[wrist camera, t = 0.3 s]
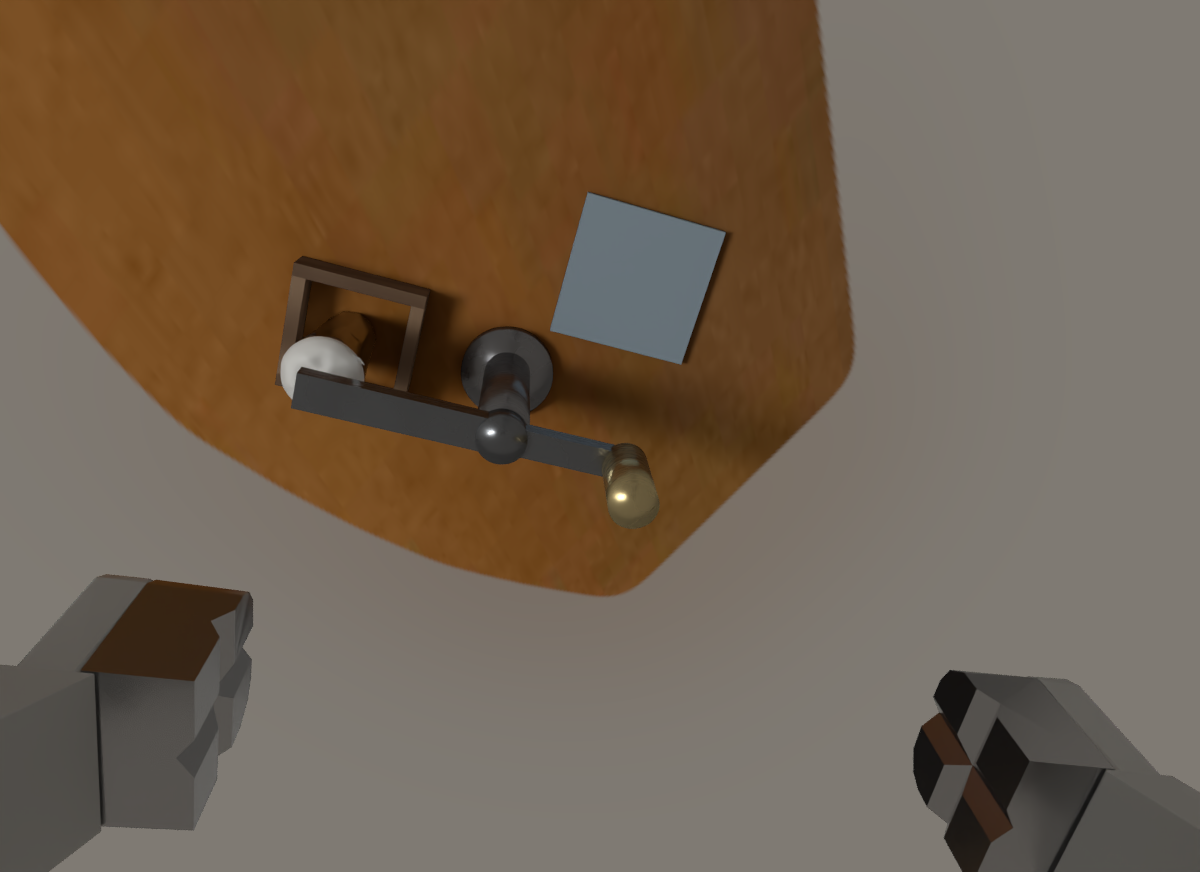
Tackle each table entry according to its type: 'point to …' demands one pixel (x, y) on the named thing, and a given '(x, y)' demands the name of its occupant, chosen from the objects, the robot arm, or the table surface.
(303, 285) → the brown square frame
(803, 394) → the table surface
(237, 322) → the table surface
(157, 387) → the table surface
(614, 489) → the lever
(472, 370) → the latch post
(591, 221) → the pad
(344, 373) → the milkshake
